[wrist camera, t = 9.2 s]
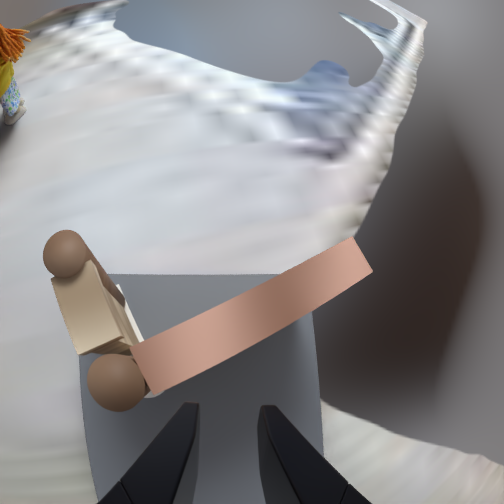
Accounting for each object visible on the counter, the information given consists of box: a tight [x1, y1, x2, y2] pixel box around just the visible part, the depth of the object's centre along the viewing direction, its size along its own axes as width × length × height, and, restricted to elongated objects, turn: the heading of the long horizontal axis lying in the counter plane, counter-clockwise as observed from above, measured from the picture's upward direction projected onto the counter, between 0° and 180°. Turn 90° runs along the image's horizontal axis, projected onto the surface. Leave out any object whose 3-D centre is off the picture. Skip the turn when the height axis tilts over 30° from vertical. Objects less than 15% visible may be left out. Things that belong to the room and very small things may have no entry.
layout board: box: [79, 274, 324, 504], centre depth 17 cm, size 18×16×1 cm
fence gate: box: [87, 237, 372, 412], centre depth 14 cm, size 12×2×9 cm, turn 119°
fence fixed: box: [43, 230, 140, 356], centre depth 14 cm, size 4×2×9 cm, turn 29°
